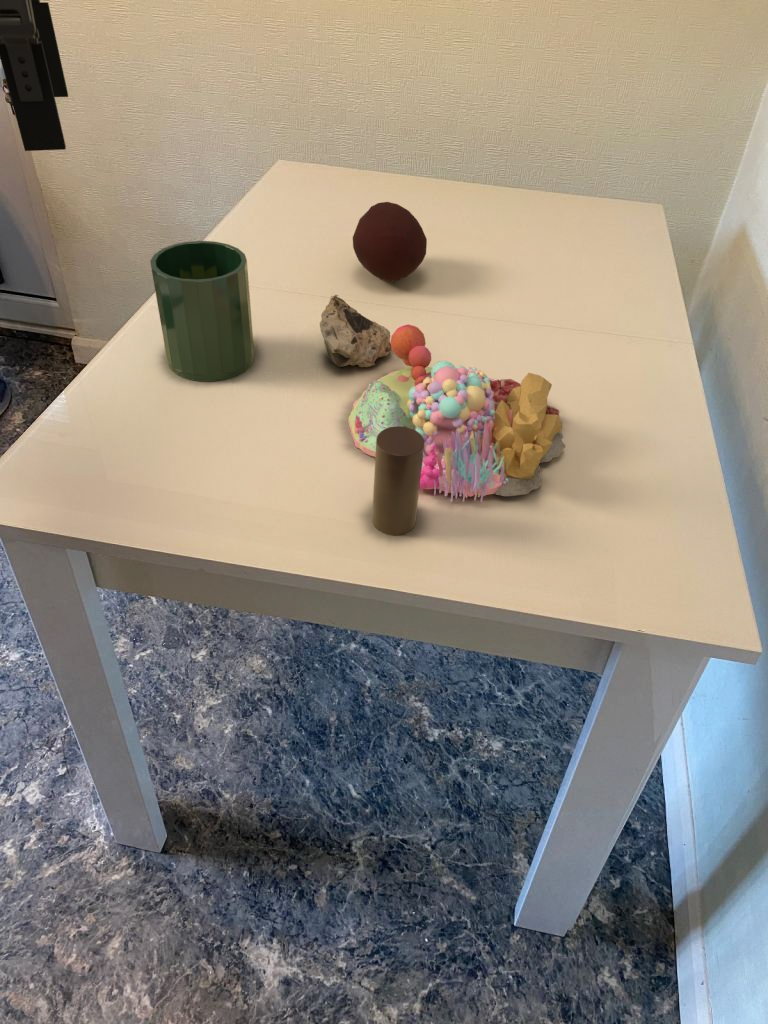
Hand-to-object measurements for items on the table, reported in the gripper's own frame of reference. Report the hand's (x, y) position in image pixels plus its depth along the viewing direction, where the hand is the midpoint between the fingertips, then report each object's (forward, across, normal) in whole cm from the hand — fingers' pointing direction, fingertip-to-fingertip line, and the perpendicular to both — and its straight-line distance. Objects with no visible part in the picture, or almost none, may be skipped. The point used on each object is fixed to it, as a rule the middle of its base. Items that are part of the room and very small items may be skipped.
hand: (48, 120), depth 57 cm
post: (+33, -17, -25) cm, 45 cm away
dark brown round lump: (+33, +35, -40) cm, 63 cm away
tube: (+33, +17, -11) cm, 38 cm away
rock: (+33, +13, -29) cm, 46 cm away
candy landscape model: (+33, -5, -36) cm, 49 cm away
